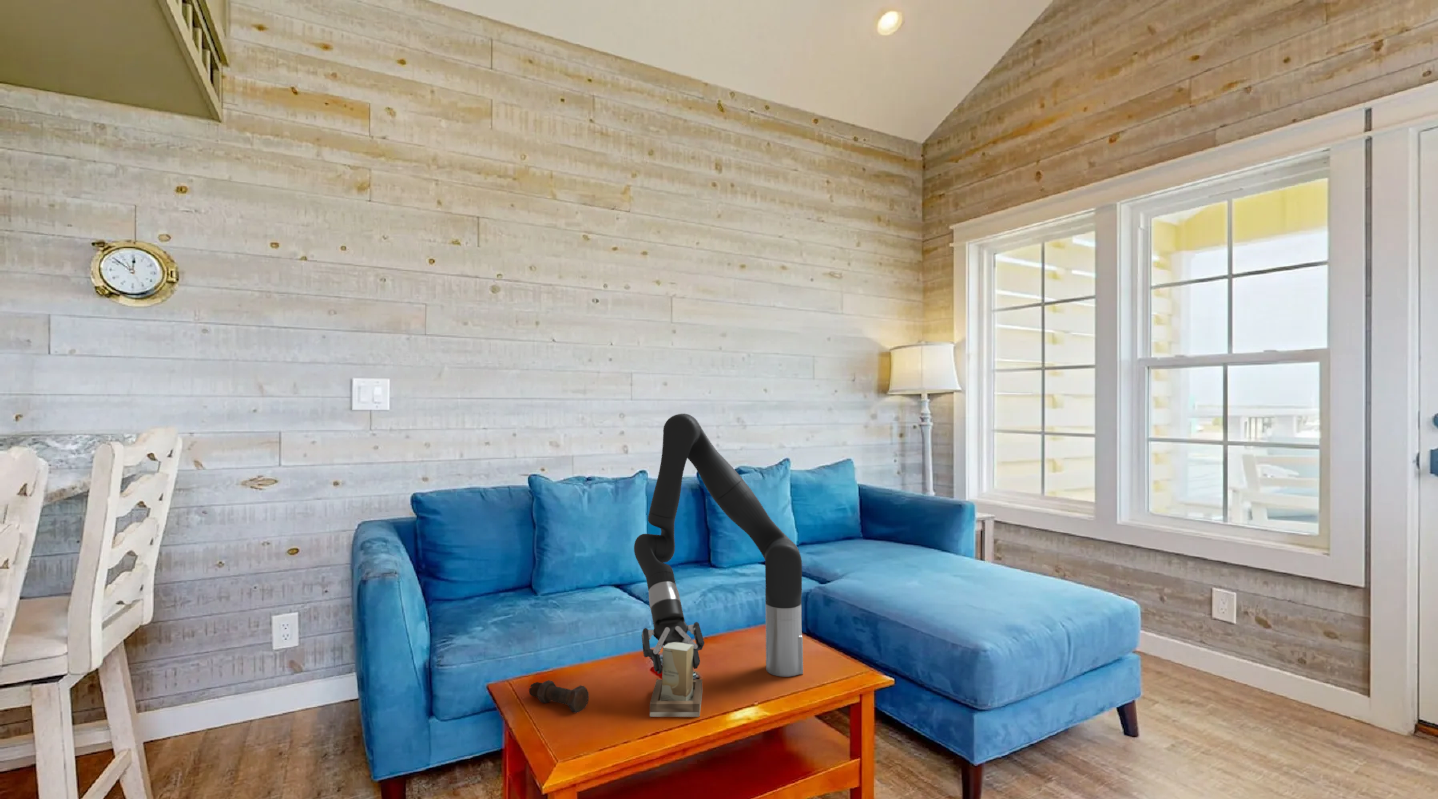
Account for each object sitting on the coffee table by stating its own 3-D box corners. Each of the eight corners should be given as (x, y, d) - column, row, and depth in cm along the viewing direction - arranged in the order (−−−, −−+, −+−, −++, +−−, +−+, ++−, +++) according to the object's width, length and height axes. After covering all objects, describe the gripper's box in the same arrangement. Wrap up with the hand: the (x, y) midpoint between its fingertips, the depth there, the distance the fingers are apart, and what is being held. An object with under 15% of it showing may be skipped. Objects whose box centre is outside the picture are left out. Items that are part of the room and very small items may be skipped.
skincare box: (661, 700, 151) (660, 647, 151) (669, 692, 155) (668, 640, 156) (687, 704, 149) (686, 650, 149) (694, 696, 153) (693, 643, 153)
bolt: (535, 703, 157) (584, 715, 150) (521, 700, 153) (570, 712, 146) (544, 677, 160) (591, 688, 152) (530, 673, 156) (578, 684, 149)
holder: (702, 691, 158) (702, 679, 158) (699, 716, 145) (699, 703, 145) (656, 691, 159) (656, 679, 159) (649, 716, 146) (649, 703, 146)
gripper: (639, 600, 157) (650, 666, 146) (696, 594, 162) (711, 658, 151) (634, 616, 162) (645, 681, 151) (690, 609, 167) (704, 672, 156)
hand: (678, 669), depth 151 cm, fingers open, 8 cm apart
